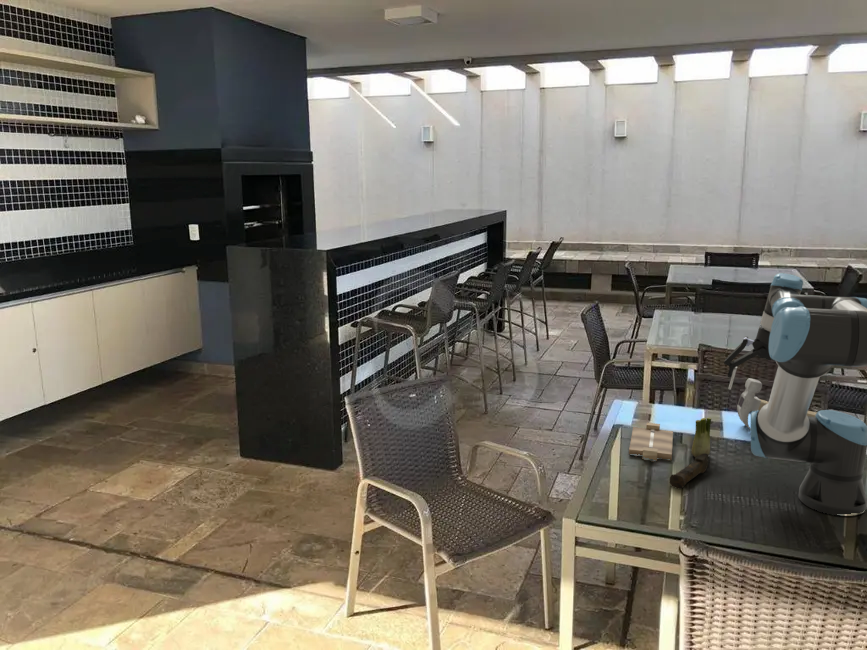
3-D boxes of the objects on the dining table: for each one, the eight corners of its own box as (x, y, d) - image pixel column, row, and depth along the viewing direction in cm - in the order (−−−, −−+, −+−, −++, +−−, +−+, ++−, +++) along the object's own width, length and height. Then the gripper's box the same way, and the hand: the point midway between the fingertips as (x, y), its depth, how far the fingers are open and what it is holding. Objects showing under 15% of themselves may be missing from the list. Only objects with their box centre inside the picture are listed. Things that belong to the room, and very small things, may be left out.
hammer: (838, 398, 224) (746, 376, 226) (845, 403, 220) (750, 381, 221) (821, 442, 228) (730, 420, 230) (827, 448, 224) (734, 426, 225)
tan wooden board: (671, 463, 202) (672, 453, 201) (628, 458, 206) (628, 448, 205) (672, 434, 222) (673, 425, 221) (633, 430, 226) (633, 421, 225)
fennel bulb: (707, 453, 208) (710, 415, 206) (713, 460, 204) (717, 421, 201) (687, 453, 208) (690, 415, 206) (693, 460, 204) (696, 421, 201)
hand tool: (682, 491, 186) (683, 475, 185) (668, 486, 189) (669, 470, 188) (716, 469, 198) (717, 454, 197) (702, 465, 201) (704, 450, 200)
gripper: (823, 334, 194) (801, 401, 203) (728, 313, 204) (711, 377, 213) (823, 344, 188) (800, 412, 196) (725, 321, 198) (708, 387, 206)
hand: (754, 394), depth 205 cm, fingers open, 13 cm apart
